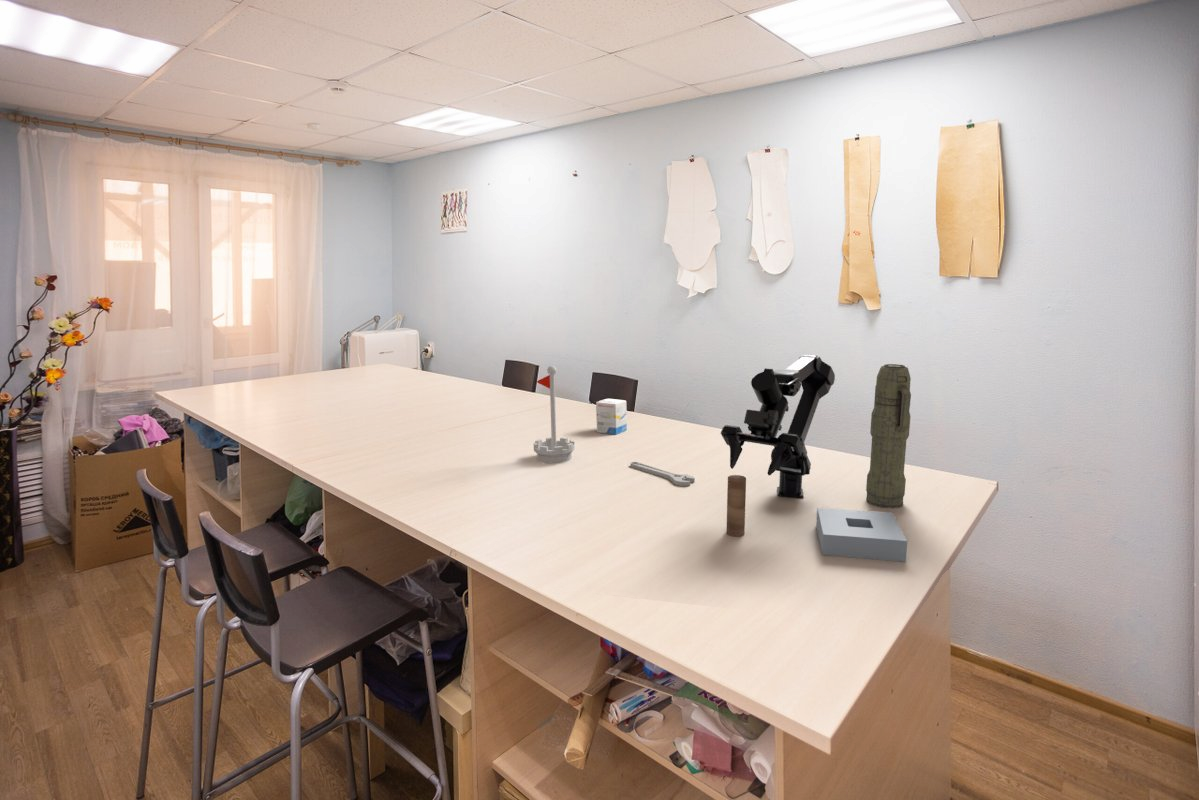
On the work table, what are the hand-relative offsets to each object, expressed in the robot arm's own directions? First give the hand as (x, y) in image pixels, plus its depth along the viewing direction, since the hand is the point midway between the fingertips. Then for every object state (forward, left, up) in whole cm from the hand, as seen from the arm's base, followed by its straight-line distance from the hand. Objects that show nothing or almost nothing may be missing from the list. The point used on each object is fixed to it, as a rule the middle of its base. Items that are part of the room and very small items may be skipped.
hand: (749, 471), depth 149 cm
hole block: (+6, +23, -13) cm, 27 cm away
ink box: (-83, -52, -13) cm, 99 cm away
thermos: (-22, +33, -13) cm, 42 cm away
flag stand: (-44, -62, -13) cm, 77 cm away
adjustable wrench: (-34, -25, -13) cm, 44 cm away
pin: (+6, -3, -13) cm, 15 cm away
